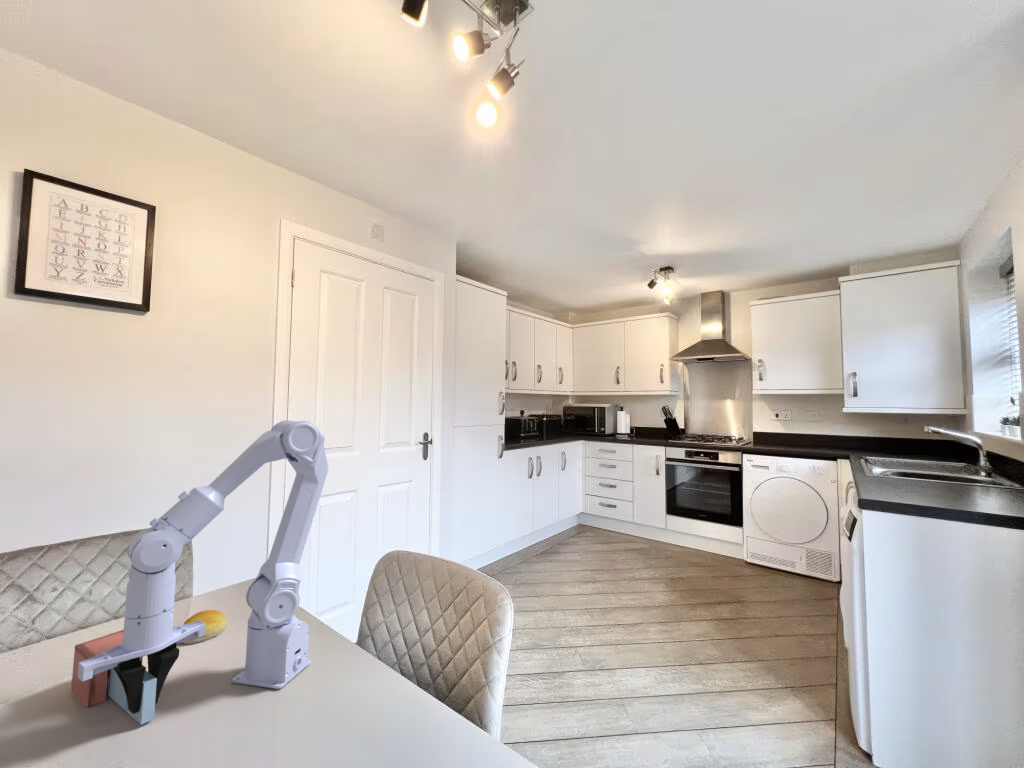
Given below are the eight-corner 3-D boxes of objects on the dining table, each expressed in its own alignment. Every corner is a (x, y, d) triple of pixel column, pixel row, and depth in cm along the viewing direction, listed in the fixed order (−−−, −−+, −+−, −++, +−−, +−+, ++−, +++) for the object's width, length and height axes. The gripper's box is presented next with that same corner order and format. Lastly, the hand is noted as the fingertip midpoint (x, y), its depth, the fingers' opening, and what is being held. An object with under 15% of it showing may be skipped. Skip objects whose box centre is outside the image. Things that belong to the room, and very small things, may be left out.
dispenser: (141, 686, 70) (145, 642, 71) (89, 708, 65) (93, 660, 66) (122, 670, 75) (125, 629, 75) (71, 690, 69) (74, 645, 70)
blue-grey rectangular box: (154, 718, 62) (157, 678, 63) (140, 725, 61) (143, 683, 61) (120, 689, 69) (123, 653, 70) (107, 694, 68) (110, 657, 68)
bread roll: (167, 649, 82) (168, 627, 83) (188, 627, 91) (189, 607, 91) (216, 643, 85) (217, 622, 85) (232, 622, 93) (233, 603, 93)
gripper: (193, 588, 72) (187, 672, 71) (74, 623, 60) (65, 725, 59) (213, 597, 69) (208, 686, 67) (91, 636, 56) (82, 746, 55)
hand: (143, 706), depth 63 cm, fingers closed on blue-grey rectangular box
